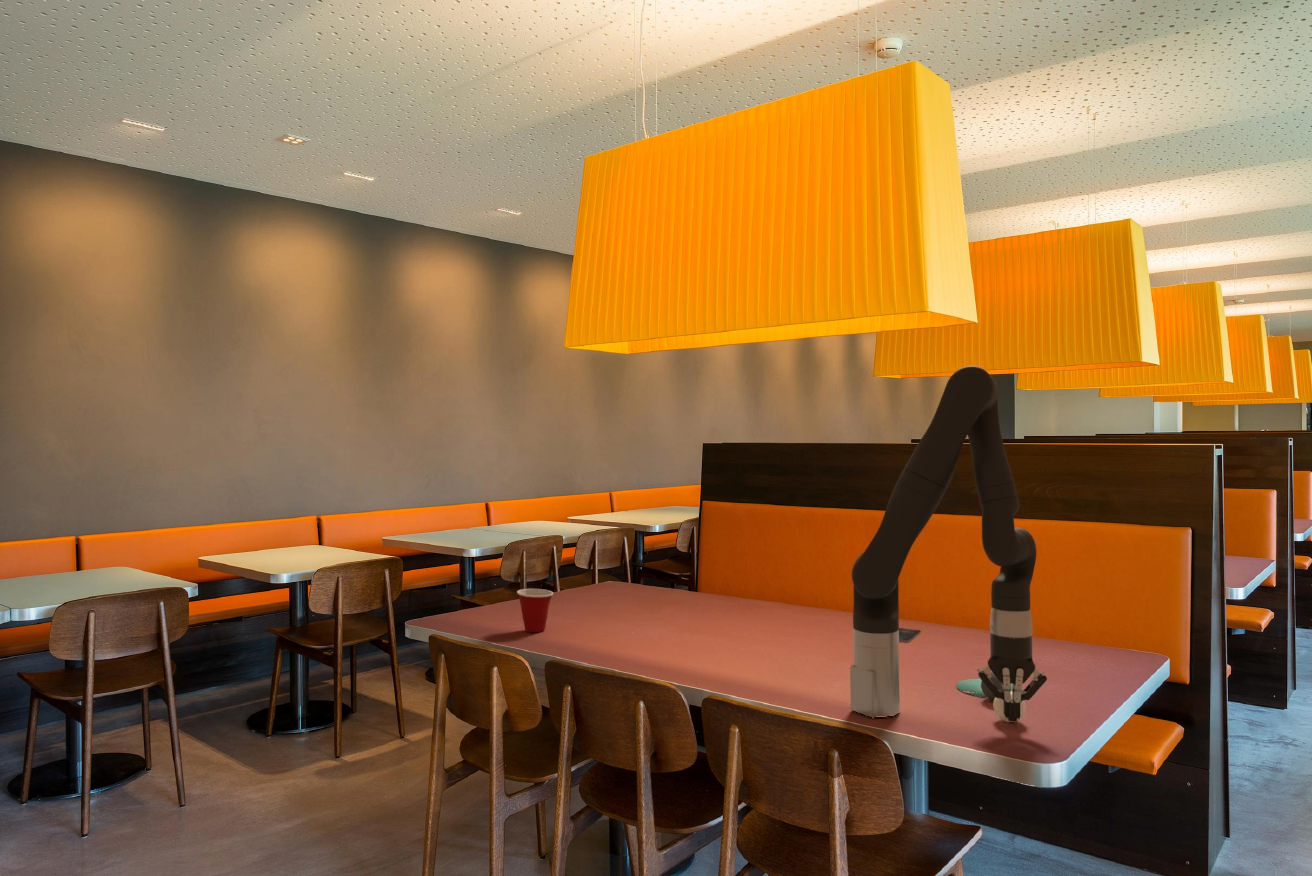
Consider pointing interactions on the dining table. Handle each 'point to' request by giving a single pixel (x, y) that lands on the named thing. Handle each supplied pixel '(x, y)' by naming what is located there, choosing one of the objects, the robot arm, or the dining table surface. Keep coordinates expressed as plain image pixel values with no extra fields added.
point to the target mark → (973, 687)
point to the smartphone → (907, 634)
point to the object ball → (986, 689)
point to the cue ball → (999, 709)
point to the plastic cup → (534, 608)
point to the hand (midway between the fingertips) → (1011, 720)
